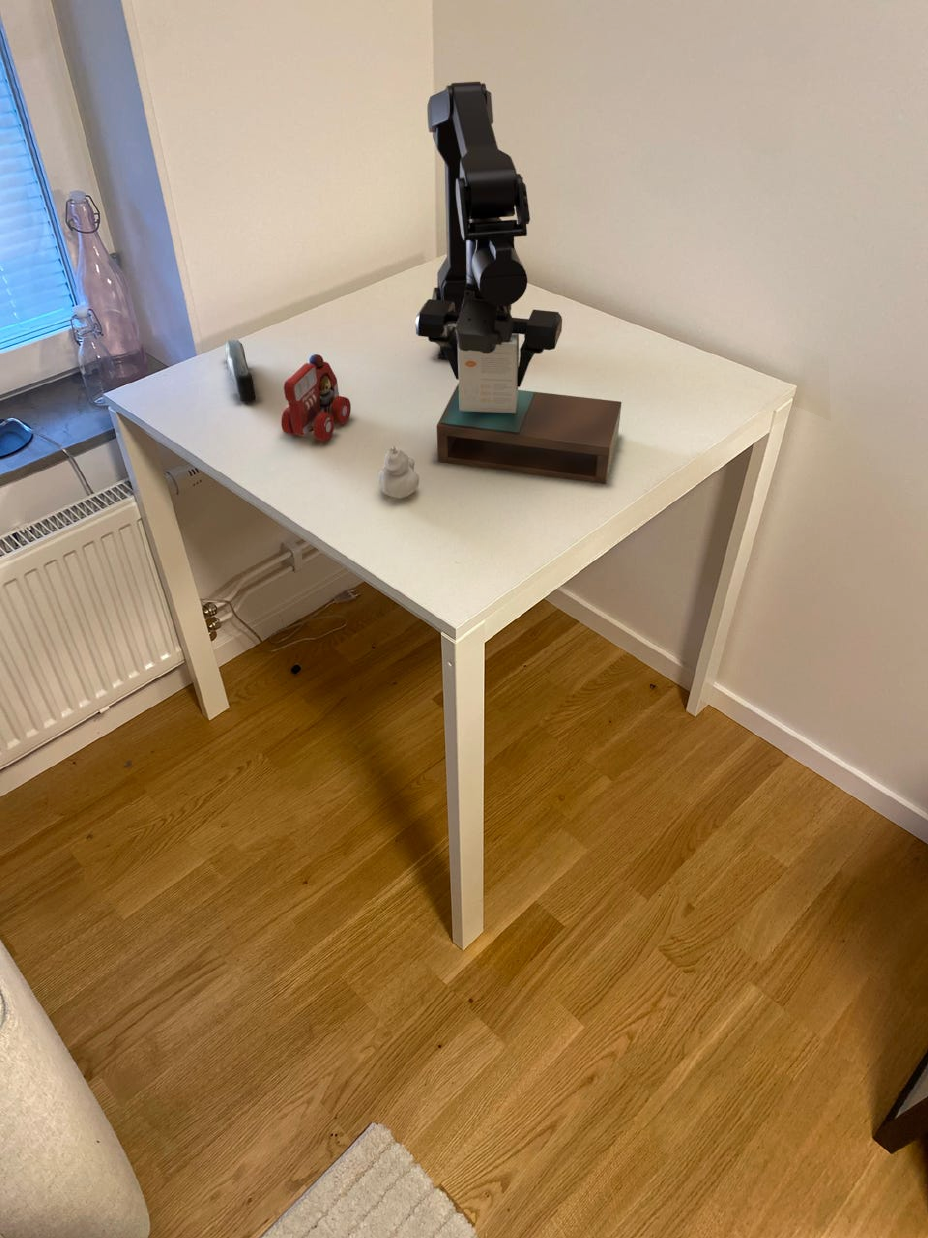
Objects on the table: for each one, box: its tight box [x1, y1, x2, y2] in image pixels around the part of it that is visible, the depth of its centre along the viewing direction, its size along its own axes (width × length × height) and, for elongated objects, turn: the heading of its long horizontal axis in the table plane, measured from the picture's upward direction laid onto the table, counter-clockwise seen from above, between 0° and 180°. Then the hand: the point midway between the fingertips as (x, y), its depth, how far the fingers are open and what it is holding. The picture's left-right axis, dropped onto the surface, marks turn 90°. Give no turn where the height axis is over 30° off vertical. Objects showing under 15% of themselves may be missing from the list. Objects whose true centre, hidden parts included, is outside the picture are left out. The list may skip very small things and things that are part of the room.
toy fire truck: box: [280, 353, 352, 442], centre depth 137 cm, size 7×12×10 cm, turn 157°
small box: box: [458, 333, 520, 413], centre depth 128 cm, size 8×6×10 cm
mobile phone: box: [225, 339, 257, 403], centre depth 149 cm, size 5×3×15 cm
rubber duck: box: [378, 445, 420, 499], centre depth 125 cm, size 5×7×8 cm
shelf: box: [435, 382, 623, 485], centre depth 133 cm, size 24×12×6 cm, turn 75°
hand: (488, 381), depth 129 cm, fingers closed on small box, 8 cm apart
